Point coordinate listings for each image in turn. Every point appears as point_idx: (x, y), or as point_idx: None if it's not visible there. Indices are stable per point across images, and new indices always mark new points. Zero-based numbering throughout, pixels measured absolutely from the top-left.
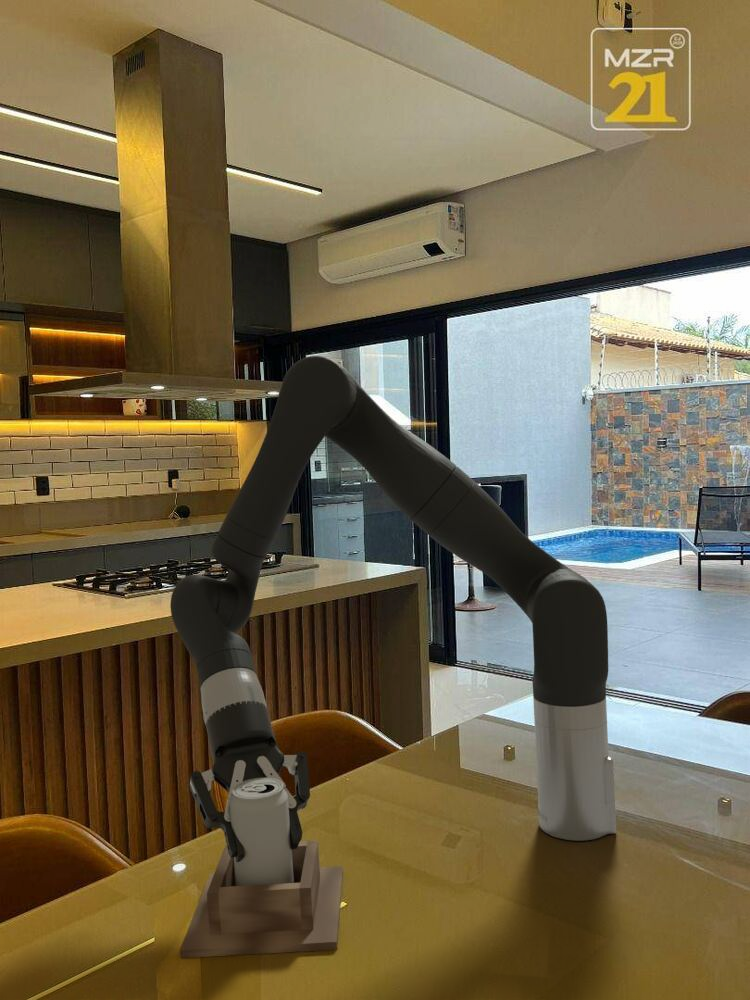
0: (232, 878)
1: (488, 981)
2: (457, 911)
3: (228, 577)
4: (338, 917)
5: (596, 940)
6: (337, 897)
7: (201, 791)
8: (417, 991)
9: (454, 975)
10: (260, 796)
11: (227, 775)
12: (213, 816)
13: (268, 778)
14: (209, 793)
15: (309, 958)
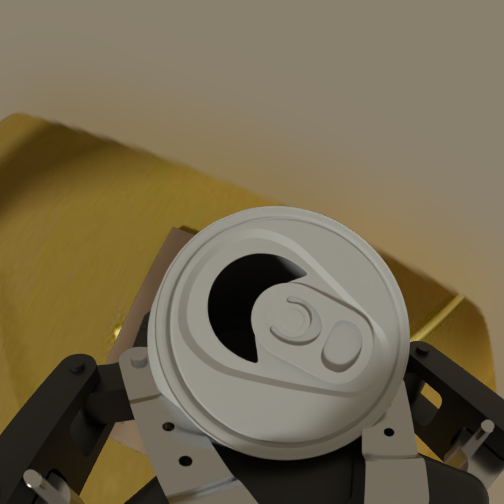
0: None
1: (88, 142)
2: (28, 241)
3: None
4: (145, 278)
5: (4, 161)
6: (124, 331)
7: (483, 394)
8: (140, 149)
9: (102, 155)
10: (297, 221)
11: (429, 469)
12: (416, 346)
13: (212, 427)
14: (459, 395)
15: None
